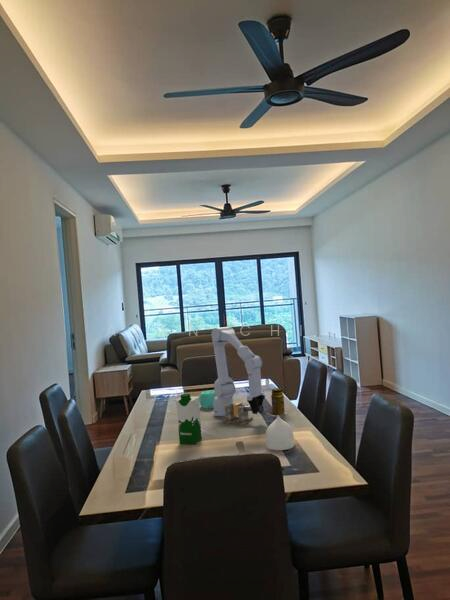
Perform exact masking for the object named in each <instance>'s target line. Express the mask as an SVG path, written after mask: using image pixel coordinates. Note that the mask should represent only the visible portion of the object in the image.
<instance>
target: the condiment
mask: <svg viewBox="0 0 450 600" xmlns="http://www.w3.org/2000/svg"><path fill="white" fill-rule="evenodd" d="M283 393H284V392H283V388H281V387H280V388H279V387H277V388H272V389H271V395H270V396H271V411H270V412H267V413H266V412H265V413H266V415H268V416H271V417H276V418H277V416H278V415H279V417H280V416H283V415H287V414H288V412H286V411H285V397H284V394H283Z"/></svg>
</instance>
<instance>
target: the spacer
mask: <svg viewBox="0 0 450 600" xmlns="http://www.w3.org/2000/svg"><path fill="white" fill-rule="evenodd" d="M233 404H234V405H233V408H234V415H235V416H238V406H240V405H241V406H242V404H243V402H242V401H240V402H239V401H237V402H236V403H233Z"/></svg>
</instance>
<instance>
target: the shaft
mask: <svg viewBox="0 0 450 600" xmlns="http://www.w3.org/2000/svg"><path fill="white" fill-rule="evenodd" d="M240 406H241V405H240ZM238 407H239V406H238ZM241 407H244V411H248V412H252V410H251V407H250V405H248V406H241ZM232 409H233V410H234V408H233V406H232ZM258 413H259V414H263V413H264V405H263V404H262V405H259V407H258Z"/></svg>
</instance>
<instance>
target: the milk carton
mask: <svg viewBox="0 0 450 600" xmlns="http://www.w3.org/2000/svg"><path fill="white" fill-rule="evenodd" d="M199 399H200V396H198V395H197V396H191V394H190V393H182V394H180V397H179V398H177V399H176V400H175V404H176V410H177V411H176V412H177V413H176V414H177V425H178V426H177V427H178V441H179V445H197V444H198V443H199V442H200V441H201V440H202V439H203V437H202V427H201V426H202V425H201V411H200V402H199Z"/></svg>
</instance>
